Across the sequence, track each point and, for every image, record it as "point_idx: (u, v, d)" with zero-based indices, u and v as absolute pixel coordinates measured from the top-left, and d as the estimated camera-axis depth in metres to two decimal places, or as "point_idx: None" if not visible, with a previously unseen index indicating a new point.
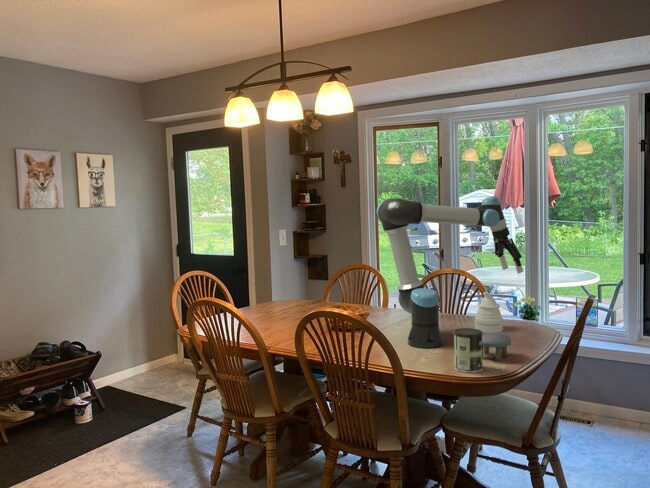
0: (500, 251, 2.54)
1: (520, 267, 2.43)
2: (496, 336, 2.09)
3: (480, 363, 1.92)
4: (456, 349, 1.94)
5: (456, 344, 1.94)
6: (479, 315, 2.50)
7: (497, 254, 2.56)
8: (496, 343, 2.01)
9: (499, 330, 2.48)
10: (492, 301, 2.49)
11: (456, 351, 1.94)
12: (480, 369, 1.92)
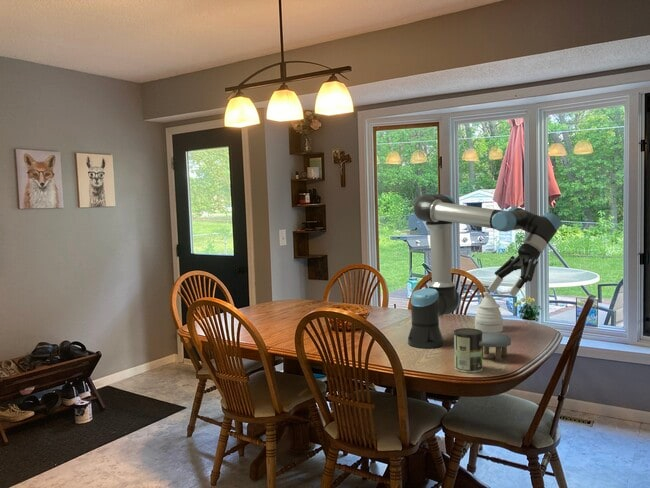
0: (506, 270, 2.05)
1: (516, 290, 1.92)
2: (496, 336, 2.09)
3: (480, 363, 1.92)
4: (456, 349, 1.94)
5: (456, 344, 1.94)
6: (479, 315, 2.50)
7: (498, 272, 2.07)
8: (496, 343, 2.01)
9: (499, 330, 2.48)
10: (492, 301, 2.49)
11: (456, 351, 1.94)
12: (480, 369, 1.92)
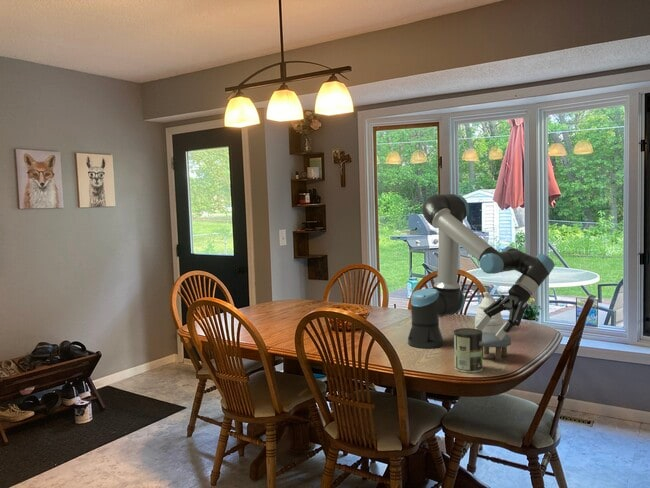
0: (495, 310, 2.02)
1: (503, 333, 1.89)
2: None
3: (480, 363, 1.92)
4: (456, 349, 1.94)
5: (456, 344, 1.94)
6: (479, 315, 2.50)
7: (487, 310, 2.04)
8: (496, 343, 2.01)
9: None
10: (492, 301, 2.49)
11: (456, 351, 1.94)
12: (480, 369, 1.92)
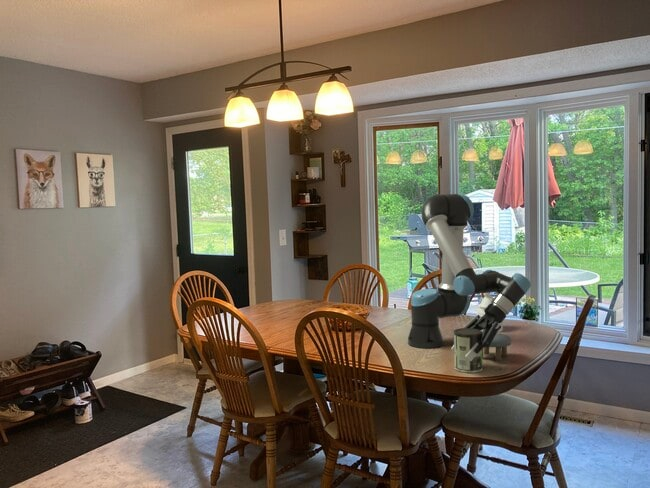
0: None
1: (473, 355, 1.90)
2: (496, 336, 2.09)
3: (480, 362, 1.92)
4: (456, 349, 1.94)
5: (456, 344, 1.94)
6: (479, 315, 2.50)
7: None
8: (496, 343, 2.01)
9: (499, 330, 2.48)
10: None
11: (456, 351, 1.94)
12: (480, 369, 1.92)
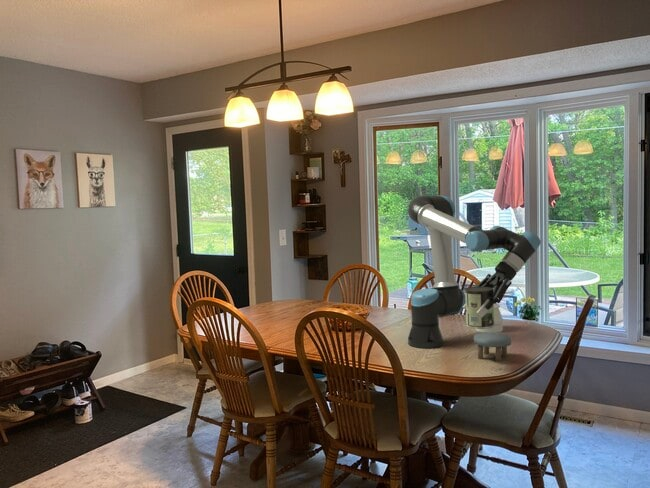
0: None
1: (485, 311, 1.93)
2: (496, 336, 2.09)
3: (491, 319, 1.95)
4: (467, 306, 1.97)
5: (467, 301, 1.97)
6: None
7: None
8: (496, 343, 2.01)
9: (499, 330, 2.48)
10: None
11: (467, 308, 1.97)
12: (492, 325, 1.95)
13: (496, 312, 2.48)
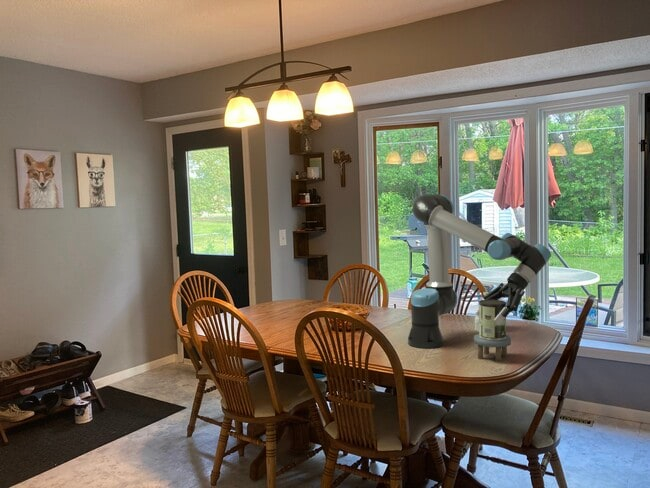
0: (494, 297, 2.13)
1: (501, 318, 2.01)
2: None
3: (504, 331, 2.05)
4: (481, 318, 2.06)
5: (481, 313, 2.06)
6: None
7: (487, 297, 2.15)
8: (496, 343, 2.01)
9: None
10: None
11: (481, 320, 2.06)
12: (504, 337, 2.05)
13: None
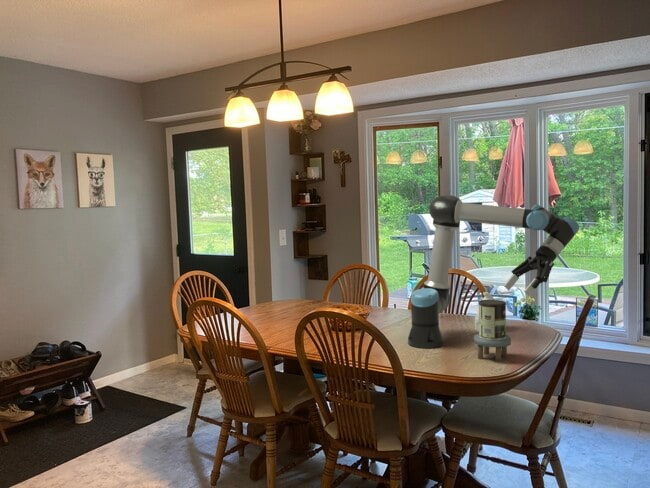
0: (522, 270, 2.15)
1: (532, 289, 2.03)
2: None
3: (504, 331, 2.05)
4: (481, 318, 2.06)
5: (481, 314, 2.06)
6: None
7: (515, 271, 2.18)
8: (496, 343, 2.01)
9: None
10: None
11: (481, 320, 2.06)
12: (504, 337, 2.05)
13: None
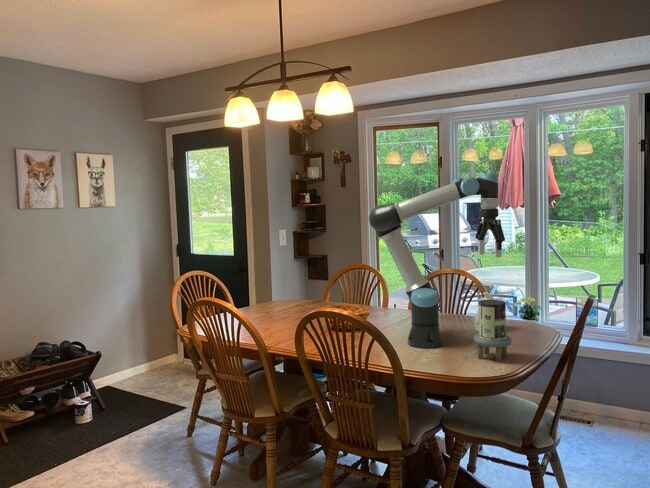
0: (482, 233, 2.40)
1: (499, 251, 2.30)
2: None
3: (504, 331, 2.05)
4: (481, 318, 2.06)
5: (481, 314, 2.06)
6: None
7: (478, 237, 2.43)
8: (496, 343, 2.01)
9: None
10: None
11: (481, 320, 2.06)
12: (504, 337, 2.05)
13: None
